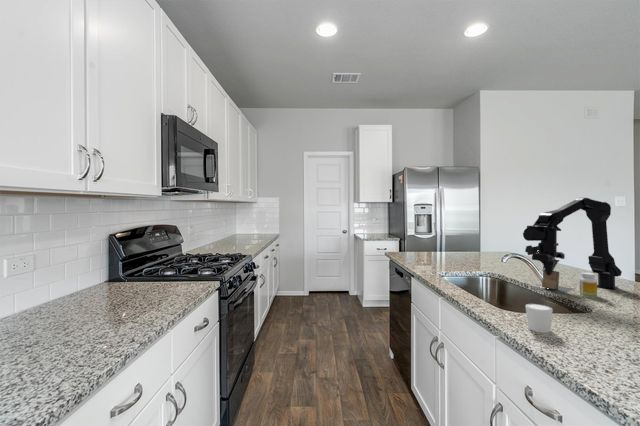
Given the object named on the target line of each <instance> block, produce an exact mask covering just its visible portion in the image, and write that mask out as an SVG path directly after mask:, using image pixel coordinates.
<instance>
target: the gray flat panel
mask: <svg viewBox="0 0 640 426" xmlns="http://www.w3.org/2000/svg"><path fill="white" fill-rule="evenodd" d="M537 286H538V285H536V286H533V287H532V289H534V290H539V291H544V292H550V293H555V294H559V295H560V294H561V295H563V294H566V293H569V292H571V291H574V290H575V288H573V287H567V286H566V287H565V286H562V285H561V286H560V285H558V290H556V289H551V288H549V289H547V288H540V287H537Z"/></svg>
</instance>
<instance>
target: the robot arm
mask: <svg viewBox="0 0 640 426" xmlns="http://www.w3.org/2000/svg"><path fill="white" fill-rule="evenodd" d="M580 210H582V211H585V214H586V217H587V218H588V220H589V221H590V222H591V232H592V233H591V234H592V244H593V245H592V246H593V253H592V254H591V255H588V257H587V258H588V265H589V267H590V268H591V272H592V273H593V274H597V288H599V289H605V290H613V291H614V290H617V289H618V288H619V287H618V286H616V277H617V278H618V277H621V276H622V274H623V271H622V270H621V269H620V268H619V267H618V265H616V262H615V258H614V257H613V256H612V254H611V253H610V250H609V240H608V227H607V221H608V219H609V218H610V216H611V212H612V207H611V204H609V203H608V202H606V201H599V200H596V199H592V198H588V197H577V198H575V199H573V200H572V201H569V202H568V203H566V204H564V205H562V206H561V207H559V208H557V209H554V210H550V211H546V212H545V211H544V212H542V213H540V214H539V215H538V218H537V219H536V221H535V222H534V223H533V225H527V226H526V228H525V229H524V231H523V233H522V235H523V238H524V240H526V241H528V242H530V241H534V242H536V241H537V242H538V245H536V246H532V245H531V244H530V245H526V246H525V250H524V252H525V253H527V256H531V260H532V261H539V262H540V263H541V264H542V265H543V268H544V270H545V271H546V274H547V275H551V273H552V271H555V268H556V267H557V265H558V263H559V262H560V260H564V259H566V257H565V256H566V254H565V253H563V252H560V251H557V250H558V248H557V247H558V246H559V242H557V241H558V240H557V239H558V235H557V234H558V232H561V231H562V229H561V228H560V227H559V226H558V225H560V224H561V223H562V222H564V219H565V218H566V217H568V216H571V215H572V214H574V213H576V212H578V211H580ZM537 250H539V251H538V252H539V253H538V252H537Z"/></svg>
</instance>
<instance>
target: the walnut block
mask: <svg viewBox="0 0 640 426" xmlns="http://www.w3.org/2000/svg"><path fill="white" fill-rule="evenodd" d="M542 272H543V273H542V274H543V275H542V287H545V288H551V289H556V290H558V286H560V285H559V283H560V271H557V270H553V271H552V273H551V275H547V274H546V271H545V269H543V271H542Z"/></svg>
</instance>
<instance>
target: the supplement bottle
mask: <svg viewBox="0 0 640 426" xmlns="http://www.w3.org/2000/svg"><path fill="white" fill-rule="evenodd" d="M595 274H596V273H593V272H592V273H591V272H581V277H580V278H579V295H580V296H582V297H586V298H598V287H597V285H598V279H595V276H596V275H595Z"/></svg>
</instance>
